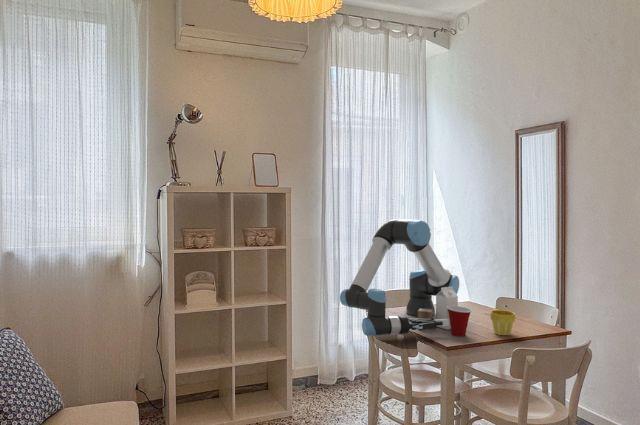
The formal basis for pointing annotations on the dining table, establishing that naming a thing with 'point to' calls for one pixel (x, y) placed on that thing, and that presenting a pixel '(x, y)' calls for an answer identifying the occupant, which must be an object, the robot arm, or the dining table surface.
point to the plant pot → (502, 321)
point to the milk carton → (445, 304)
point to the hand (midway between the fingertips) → (447, 322)
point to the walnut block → (425, 313)
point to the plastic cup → (458, 319)
